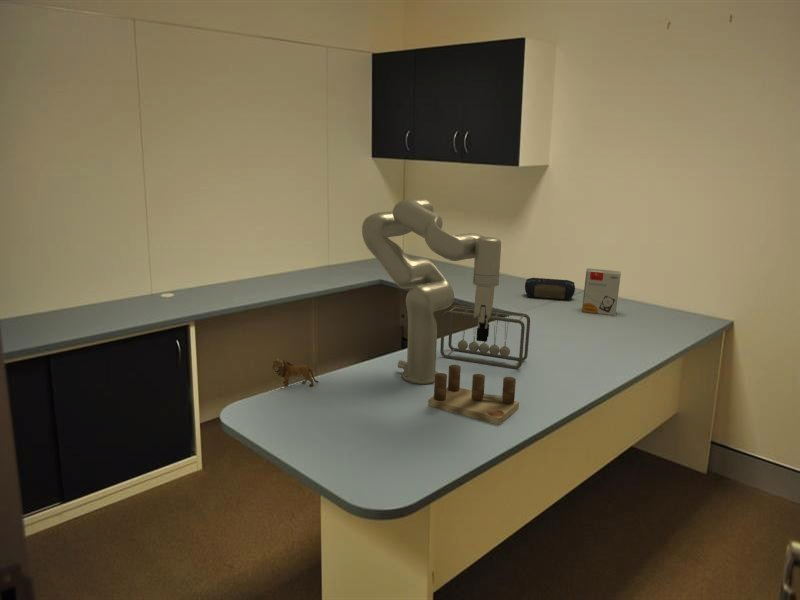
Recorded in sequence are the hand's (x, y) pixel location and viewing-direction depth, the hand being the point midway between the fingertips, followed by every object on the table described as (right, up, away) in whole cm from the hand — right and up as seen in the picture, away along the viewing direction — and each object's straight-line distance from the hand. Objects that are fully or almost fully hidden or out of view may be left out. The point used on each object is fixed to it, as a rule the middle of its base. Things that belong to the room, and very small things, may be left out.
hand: (482, 338), depth 195 cm
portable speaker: (+51, +12, +136) cm, 146 cm away
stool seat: (-3, -20, -2) cm, 21 cm away
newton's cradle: (+5, -10, +40) cm, 42 cm away
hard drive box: (+69, +6, +111) cm, 131 cm away
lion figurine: (-59, -16, +11) cm, 62 cm away
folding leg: (+3, -18, -3) cm, 19 cm away
